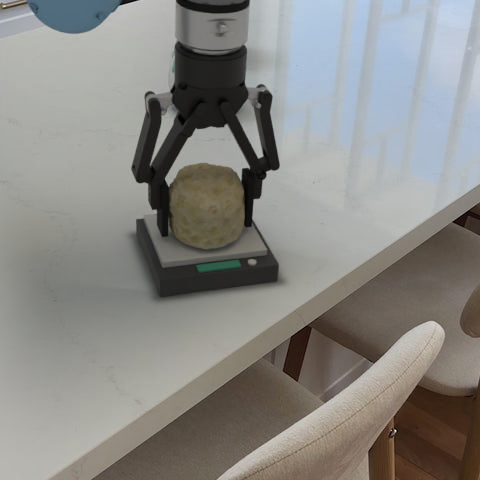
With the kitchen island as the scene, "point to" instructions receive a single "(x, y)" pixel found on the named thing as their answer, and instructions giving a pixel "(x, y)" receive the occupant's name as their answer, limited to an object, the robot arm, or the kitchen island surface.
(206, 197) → the beige textured cylinder
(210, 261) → the scale
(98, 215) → the kitchen island surface
